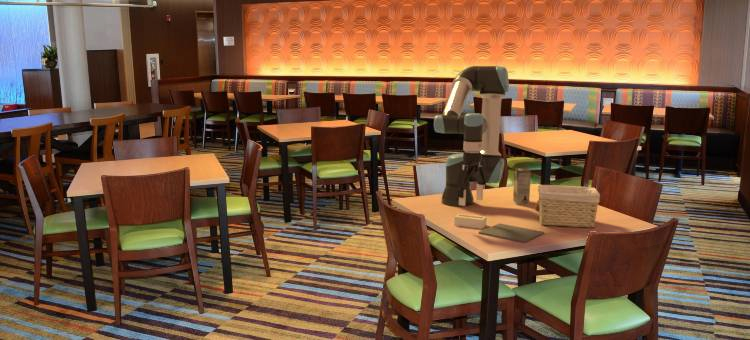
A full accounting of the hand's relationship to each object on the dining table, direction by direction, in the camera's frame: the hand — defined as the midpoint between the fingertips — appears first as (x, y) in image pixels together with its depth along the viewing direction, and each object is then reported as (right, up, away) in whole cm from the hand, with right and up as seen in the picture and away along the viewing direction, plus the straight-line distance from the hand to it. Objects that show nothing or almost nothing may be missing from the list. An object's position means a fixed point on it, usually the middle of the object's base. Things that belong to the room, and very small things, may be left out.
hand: (470, 202), depth 270 cm
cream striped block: (0, -10, +2) cm, 10 cm away
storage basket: (+41, -9, +6) cm, 43 cm away
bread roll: (+38, -5, +28) cm, 47 cm away
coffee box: (+30, -2, +43) cm, 52 cm away
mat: (+15, -12, -10) cm, 21 cm away
